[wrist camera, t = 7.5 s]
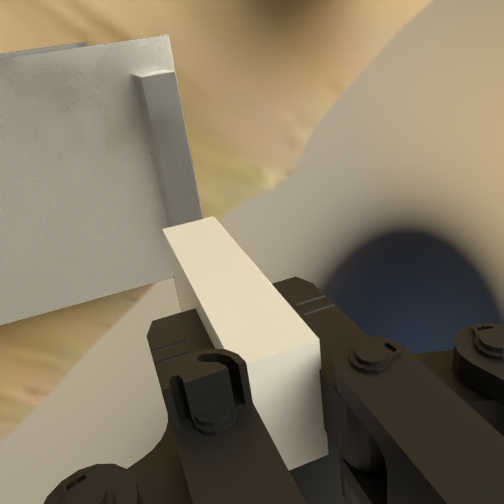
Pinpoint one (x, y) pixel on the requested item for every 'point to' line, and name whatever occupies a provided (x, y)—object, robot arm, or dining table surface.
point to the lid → (89, 173)
